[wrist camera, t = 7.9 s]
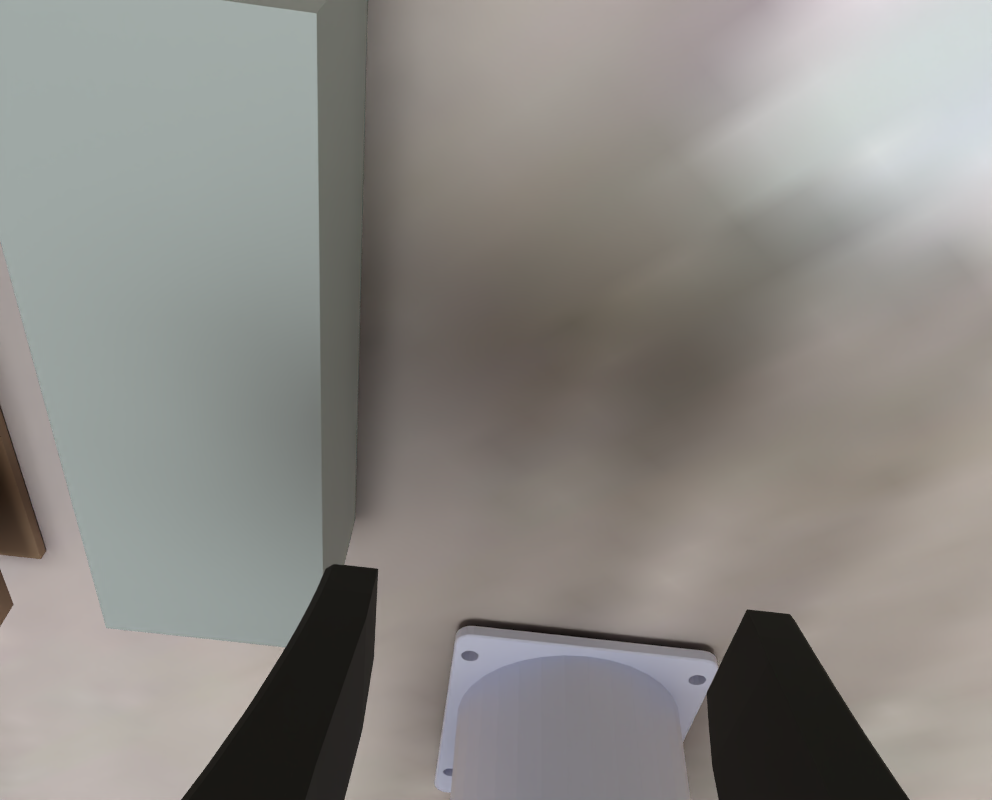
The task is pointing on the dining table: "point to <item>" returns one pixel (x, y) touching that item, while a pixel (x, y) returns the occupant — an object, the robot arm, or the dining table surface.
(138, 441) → the tongue plank
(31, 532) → the grooved board
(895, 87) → the dining table surface
